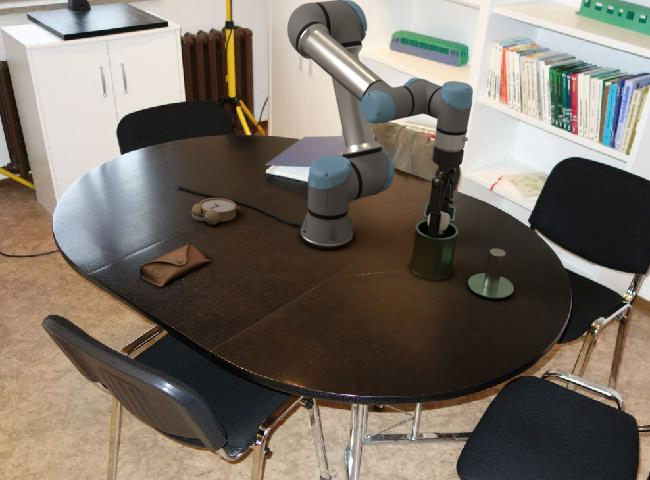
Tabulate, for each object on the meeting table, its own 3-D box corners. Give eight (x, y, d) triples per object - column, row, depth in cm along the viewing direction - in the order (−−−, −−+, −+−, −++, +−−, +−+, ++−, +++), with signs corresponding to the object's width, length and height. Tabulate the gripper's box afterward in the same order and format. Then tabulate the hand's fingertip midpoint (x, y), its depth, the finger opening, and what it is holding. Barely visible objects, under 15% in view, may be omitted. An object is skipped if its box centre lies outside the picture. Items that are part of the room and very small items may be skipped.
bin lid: (465, 296, 179) (472, 259, 173) (469, 273, 189) (476, 237, 183) (511, 304, 177) (520, 267, 171) (513, 281, 187) (522, 245, 181)
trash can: (407, 276, 186) (412, 234, 179) (414, 256, 195) (419, 216, 188) (448, 283, 184) (455, 242, 177) (453, 263, 193) (460, 223, 186)
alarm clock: (244, 205, 210) (210, 214, 199) (242, 220, 212) (209, 230, 201) (217, 194, 215) (182, 202, 204) (215, 209, 217) (181, 218, 206)
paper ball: (426, 235, 181) (428, 215, 178) (426, 225, 186) (429, 206, 183) (448, 237, 181) (451, 217, 178) (447, 227, 185) (450, 208, 182)
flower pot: (449, 247, 201) (454, 219, 196) (419, 243, 202) (423, 215, 197) (451, 233, 208) (456, 206, 203) (422, 229, 209) (426, 202, 204)
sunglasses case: (162, 287, 175) (150, 263, 173) (147, 290, 179) (136, 267, 178) (212, 260, 187) (202, 237, 185) (197, 264, 192) (187, 242, 190)
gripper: (451, 162, 162) (438, 248, 175) (474, 139, 176) (461, 220, 189) (421, 155, 165) (411, 241, 177) (446, 133, 179) (435, 214, 191)
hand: (436, 230), depth 183 cm, fingers closed on paper ball, 5 cm apart
